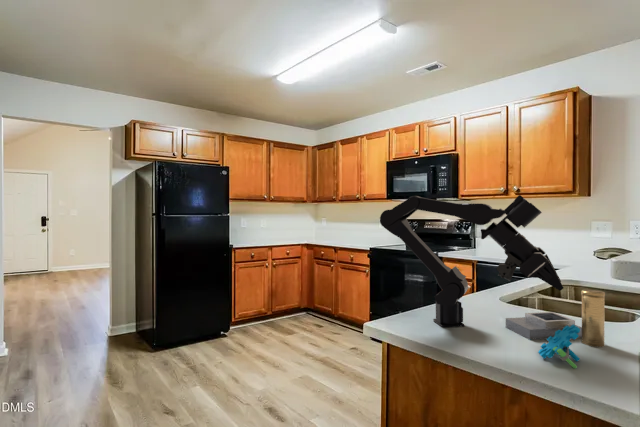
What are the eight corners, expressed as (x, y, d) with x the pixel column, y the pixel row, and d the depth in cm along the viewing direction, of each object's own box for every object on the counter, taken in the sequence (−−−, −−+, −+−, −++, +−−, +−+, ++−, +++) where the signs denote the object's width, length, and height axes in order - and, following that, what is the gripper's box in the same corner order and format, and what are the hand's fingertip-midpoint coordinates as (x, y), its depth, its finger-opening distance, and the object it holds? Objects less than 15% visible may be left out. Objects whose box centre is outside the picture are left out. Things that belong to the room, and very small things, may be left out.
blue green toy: (537, 340, 88) (573, 315, 84) (558, 360, 87) (597, 337, 82) (534, 362, 79) (575, 336, 74) (557, 386, 77) (601, 361, 73)
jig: (529, 339, 93) (529, 323, 93) (505, 327, 103) (505, 312, 103) (581, 337, 95) (581, 321, 95) (553, 325, 105) (553, 310, 105)
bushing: (592, 347, 88) (592, 294, 88) (576, 340, 92) (576, 289, 92) (610, 346, 88) (610, 293, 88) (593, 340, 93) (593, 289, 93)
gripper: (490, 256, 110) (534, 298, 104) (482, 265, 94) (534, 315, 88) (520, 230, 106) (568, 272, 100) (518, 233, 90) (574, 284, 84)
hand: (560, 286), depth 93 cm, fingers open, 9 cm apart
